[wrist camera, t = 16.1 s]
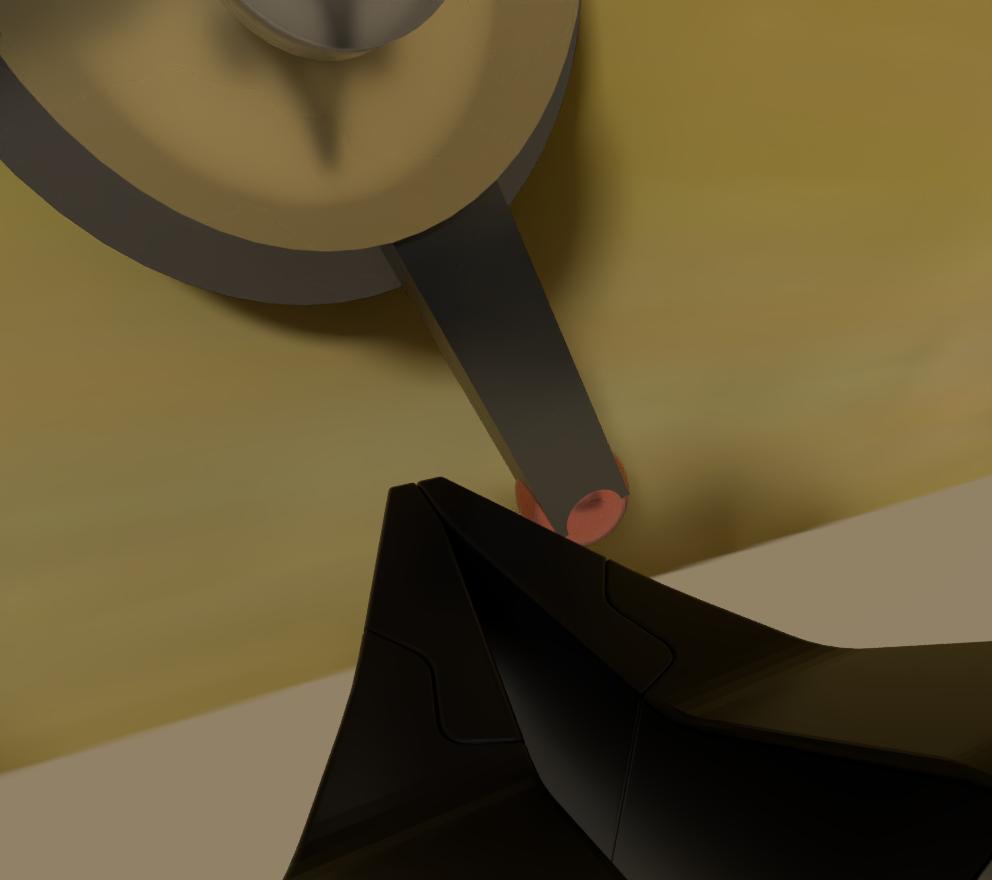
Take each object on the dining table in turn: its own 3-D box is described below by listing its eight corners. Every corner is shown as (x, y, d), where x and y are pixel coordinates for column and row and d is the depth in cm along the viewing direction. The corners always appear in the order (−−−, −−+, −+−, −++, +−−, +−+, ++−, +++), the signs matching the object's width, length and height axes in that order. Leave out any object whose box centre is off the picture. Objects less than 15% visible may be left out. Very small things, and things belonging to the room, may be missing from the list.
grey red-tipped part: (-203, -260, 6) (-431, -456, 4) (362, -540, 7) (423, -841, 5) (452, 571, 15) (488, 646, 13) (672, 424, 16) (742, 472, 13)
